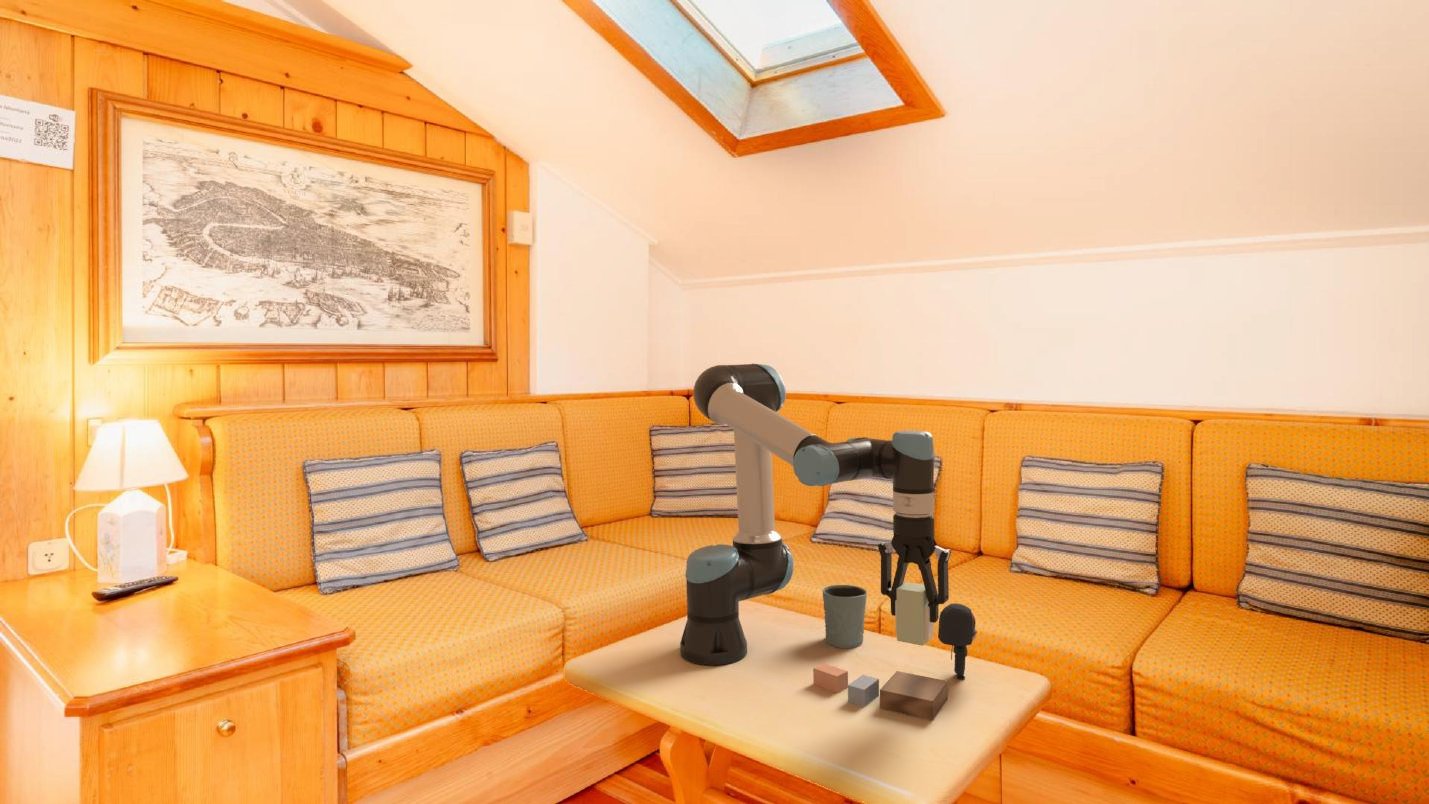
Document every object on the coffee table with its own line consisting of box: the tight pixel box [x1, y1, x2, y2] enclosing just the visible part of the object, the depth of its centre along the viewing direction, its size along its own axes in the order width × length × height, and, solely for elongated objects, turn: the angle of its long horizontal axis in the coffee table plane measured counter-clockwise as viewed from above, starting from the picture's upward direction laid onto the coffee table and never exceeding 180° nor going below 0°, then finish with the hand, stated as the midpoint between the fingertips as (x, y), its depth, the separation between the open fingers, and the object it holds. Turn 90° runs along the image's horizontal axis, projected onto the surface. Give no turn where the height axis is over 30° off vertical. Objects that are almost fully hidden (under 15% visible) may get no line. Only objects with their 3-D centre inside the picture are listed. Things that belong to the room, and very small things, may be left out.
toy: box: [937, 603, 978, 680], centre depth 160 cm, size 9×8×15 cm
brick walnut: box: [879, 670, 949, 722], centre depth 148 cm, size 10×10×4 cm
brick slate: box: [847, 674, 880, 708], centre depth 151 cm, size 6×4×4 cm, turn 141°
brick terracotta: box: [812, 663, 849, 694], centre depth 157 cm, size 6×4×4 cm, turn 44°
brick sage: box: [896, 581, 929, 647], centre depth 147 cm, size 5×5×10 cm
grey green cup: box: [821, 584, 868, 649], centre depth 181 cm, size 10×10×12 cm
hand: (914, 635), depth 148 cm, fingers closed on brick sage, 5 cm apart
